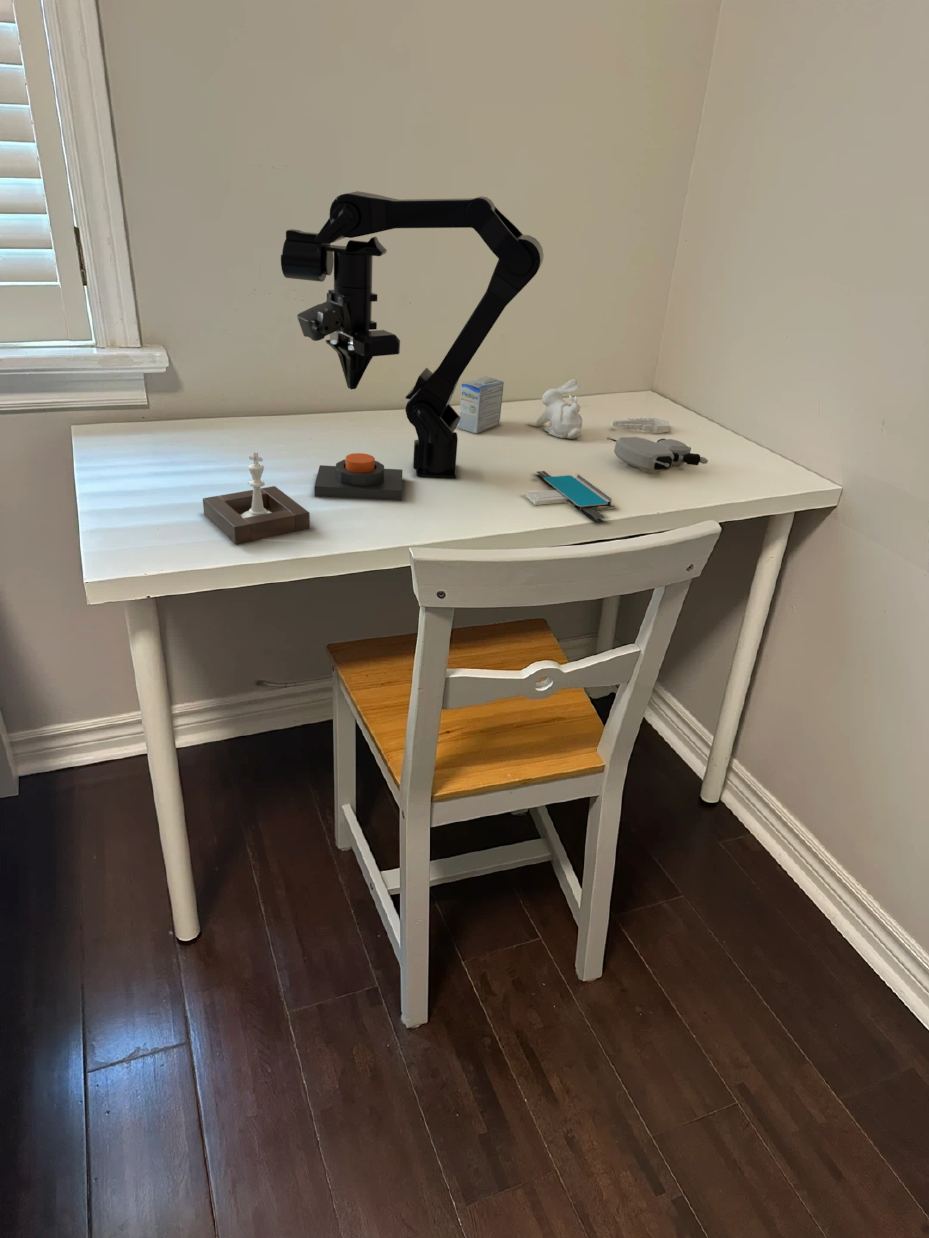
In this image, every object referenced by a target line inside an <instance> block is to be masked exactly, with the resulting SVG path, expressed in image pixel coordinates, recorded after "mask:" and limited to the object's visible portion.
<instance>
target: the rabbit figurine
mask: <svg viewBox="0 0 929 1238" xmlns="http://www.w3.org/2000/svg"><path fill="white" fill-rule="evenodd" d="M580 387H581V386H580V383H579V382H578V379H576V378H572V379H570V380H569V381H566V382H565V383H563V384H562V385H561V386H559V387H558V388H549V389H547V390H546V391H545V392H544V393H543V395H542V397H541V403H542V404H543V405H545V410H544V412H543V413H542V414H541V415H540V416H539V417H538V419H537V420H536V421H535V422H530V423H529V426H532V427H535V428H538V427H542V426H544V425H545V424H547V423H548V422H549V426H546V427H544V432H548V434H549V435H551V436H554V437H557V438H560V439H570V440H574V439H577V438H579V437H580V436H581V434H582V426H583V423H584V421H583V418H582V416H581V415H580V413H579V412H580V410H581V405H580V404H579V403H578V396H577V395H575V396H574V398H573V397H572V395H571V394H569V393H573V392H574V393H575V392H576V391H579V389H580ZM566 394H569V395H568V399H569V401H570V402H571V403H572V404H571V403H569V402H567V401H566V400H565V399H564V398H563V395H566Z"/></svg>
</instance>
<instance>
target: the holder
mask: <svg viewBox="0 0 929 1238" xmlns="http://www.w3.org/2000/svg"><path fill="white" fill-rule="evenodd" d="M261 495H262V501H263V506H264V508H265V509H266V511H269V512H272V513H268V514H263V515H257V516H252V517H247V518H243V517H242V516H241V514H243V513H244V512H246V511H249V509H251V507H252V499H253V489H249V490H243V491H238V492H232V493H227V494H226V493H225V494H220V495H215V496H208V497H203V498H202V505H203V507H202V508H203V515H204V517H205V518H207V519H208V520H209V521H210V522H211V523H212V524H213V525H214V526H215V527H216V528H217V529H219V530H220V531H221V532H222V534H224V535H225V536H226V537H227V538H228V539H229V540H230V541H231V542H233V544H234V545H239V544H244V543H249V542H255V541H259V540H260V541H261V540H263V539H268V538H272V537H277V536H283V535H288V534H292V533H297V532H302V531H306V530H310V529H311V526H310V525H311V520H310V519H311V517H310V514H311V513H310V511H308V510H307V509H306V508H304V507H303V506H301V505H300V503H298V502H297V501H295V500H294V499H293V498H291V496H289V495H288V494H286V493H285V492H283V491H282V490H281V489H280V488H278V487H277V486H276V485H272V486H267V487H261Z"/></svg>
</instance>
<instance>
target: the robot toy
mask: <svg viewBox="0 0 929 1238" xmlns="http://www.w3.org/2000/svg"><path fill="white" fill-rule="evenodd" d="M606 439H607V440H608V441H613V442H615V445H614V450H613V452H614V454H615V456H616V457H617V458H618V459H620V460H621V461H622V462H624V463H625V464H627V465H629V466H633V467H635V468H638V469H639V470H641V472H642V473H644V474H648V475H653V474H656V473H658V472H659V471H668V470H669V469H671V467H674V468H679V467H681V465H683V464H686V465H689V466H699V465H700V464H703V465H704V464H708V462H709V460H708V459H707V458H706V457H703V456H701V455H700V454H699V453H692V452H691V451H692V447H691V446H687V444H686V443H684V442H682V441H680V440H676V439H673V438H660V439H658V440H657V441H656V442H655V441H652V440H650V439H646V438H643V437H638V436H623V437H622V436H621V437H619V438H617V439H615V438H612V437H610V436H607V437H606Z"/></svg>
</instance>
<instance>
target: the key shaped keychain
mask: <svg viewBox="0 0 929 1238" xmlns="http://www.w3.org/2000/svg"><path fill="white" fill-rule="evenodd" d="M612 427H615V428H618V429H632V430H639V431H642V432H651V433H654V434H659V433H669V430H670V423H669V421H668V420H665V419H661V418H657V417H650V416H649V417H648V416H647V417H639V418H638V417H637V418H635V417H634V418H627V419H614V420H612Z"/></svg>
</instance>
